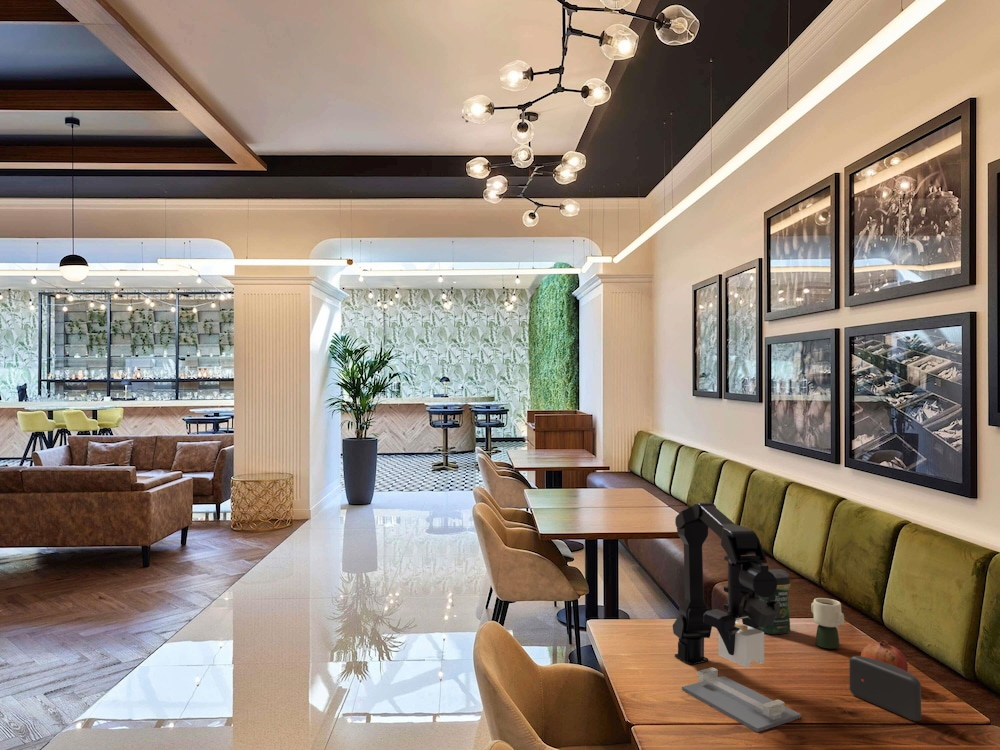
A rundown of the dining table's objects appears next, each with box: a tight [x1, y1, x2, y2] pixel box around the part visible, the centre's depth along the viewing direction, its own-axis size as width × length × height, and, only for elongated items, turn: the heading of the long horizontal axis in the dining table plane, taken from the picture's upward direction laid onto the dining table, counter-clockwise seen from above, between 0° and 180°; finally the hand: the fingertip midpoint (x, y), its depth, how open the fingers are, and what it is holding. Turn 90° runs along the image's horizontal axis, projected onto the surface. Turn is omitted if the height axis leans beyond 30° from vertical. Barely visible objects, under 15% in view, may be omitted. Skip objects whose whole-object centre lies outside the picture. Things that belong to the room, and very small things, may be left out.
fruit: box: [860, 639, 909, 672], centre depth 162 cm, size 11×10×10 cm
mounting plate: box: [681, 675, 802, 733], centre depth 148 cm, size 14×22×1 cm, turn 28°
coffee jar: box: [759, 568, 791, 635], centre depth 197 cm, size 10×8×19 cm
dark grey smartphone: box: [848, 655, 922, 722], centre depth 148 cm, size 16×5×9 cm, turn 28°
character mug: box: [810, 597, 845, 650], centre depth 184 cm, size 11×7×13 cm, turn 21°
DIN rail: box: [697, 667, 786, 721], centre depth 149 cm, size 5×21×3 cm, turn 28°
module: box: [717, 620, 765, 668], centre depth 149 cm, size 6×8×8 cm
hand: (740, 652), depth 149 cm, fingers closed on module, 6 cm apart
